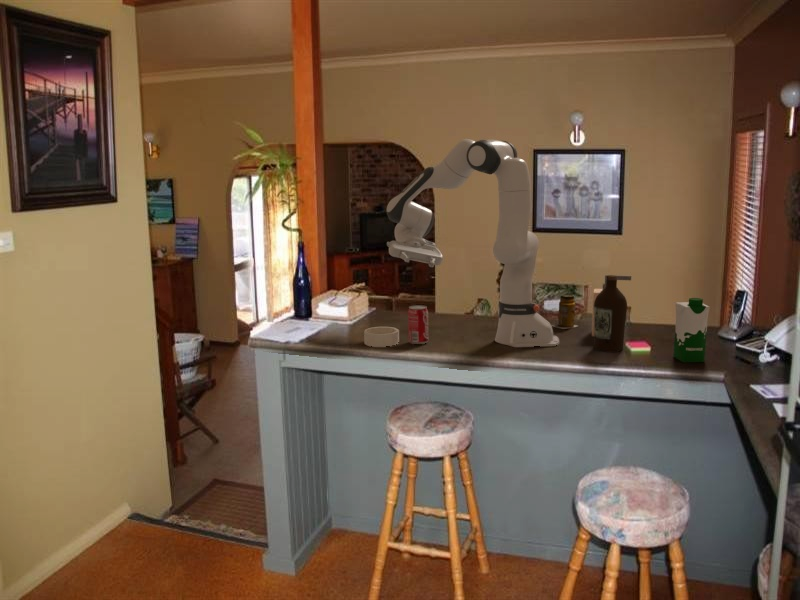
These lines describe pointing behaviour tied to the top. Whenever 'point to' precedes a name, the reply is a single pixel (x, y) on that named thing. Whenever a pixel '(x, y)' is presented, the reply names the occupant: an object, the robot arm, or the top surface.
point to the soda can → (418, 324)
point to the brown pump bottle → (609, 317)
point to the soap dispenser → (597, 291)
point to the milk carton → (691, 330)
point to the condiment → (566, 312)
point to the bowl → (381, 336)
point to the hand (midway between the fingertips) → (420, 262)
